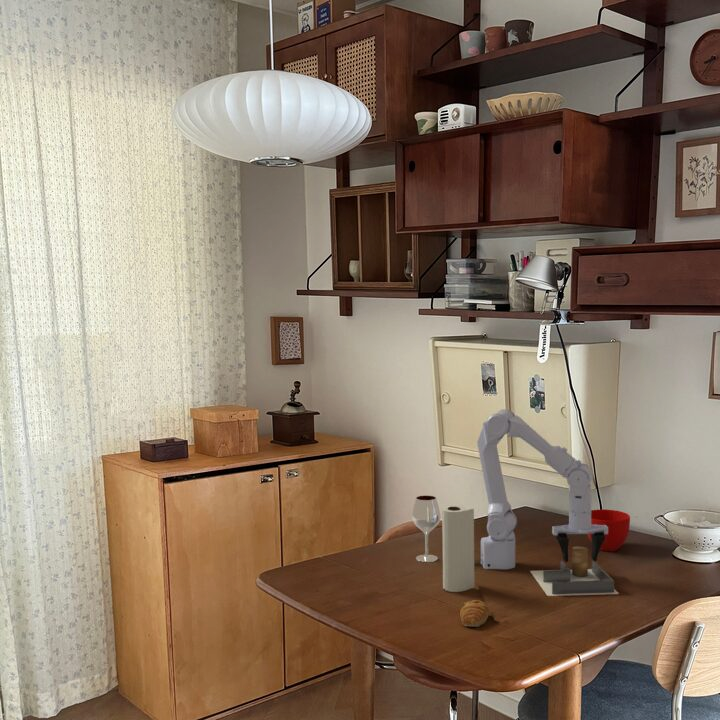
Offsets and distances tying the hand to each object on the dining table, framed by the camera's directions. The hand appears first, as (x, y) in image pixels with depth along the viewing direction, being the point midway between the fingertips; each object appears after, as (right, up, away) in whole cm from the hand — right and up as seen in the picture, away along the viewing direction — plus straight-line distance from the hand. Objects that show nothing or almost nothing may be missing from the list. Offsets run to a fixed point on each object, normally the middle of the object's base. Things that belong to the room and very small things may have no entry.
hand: (579, 560), depth 217 cm
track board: (-3, -5, -5) cm, 8 cm away
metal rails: (-3, -4, -5) cm, 8 cm away
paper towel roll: (-34, -6, -6) cm, 35 cm away
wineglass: (-39, -4, +19) cm, 44 cm away
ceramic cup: (+14, -3, +24) cm, 28 cm away
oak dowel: (0, -4, 0) cm, 4 cm away
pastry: (-32, -8, -26) cm, 42 cm away
